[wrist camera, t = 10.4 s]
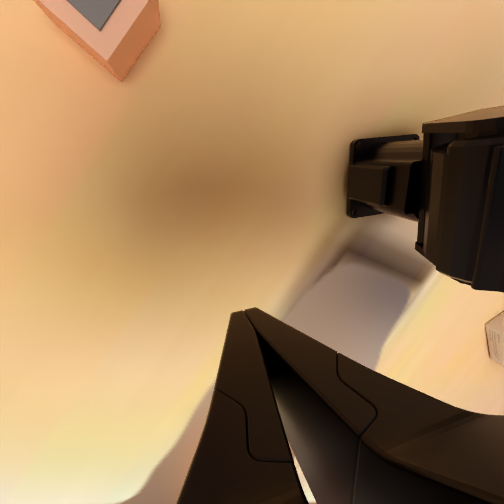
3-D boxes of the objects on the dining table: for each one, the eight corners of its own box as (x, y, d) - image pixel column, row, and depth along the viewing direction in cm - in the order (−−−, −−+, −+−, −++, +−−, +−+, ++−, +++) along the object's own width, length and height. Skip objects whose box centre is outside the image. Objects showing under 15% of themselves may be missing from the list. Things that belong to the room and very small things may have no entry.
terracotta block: (160, 26, 16) (156, -15, 12) (121, 81, 16) (106, 59, 12) (94, -42, 14) (66, -116, 10) (53, 22, 14) (10, -26, 10)
